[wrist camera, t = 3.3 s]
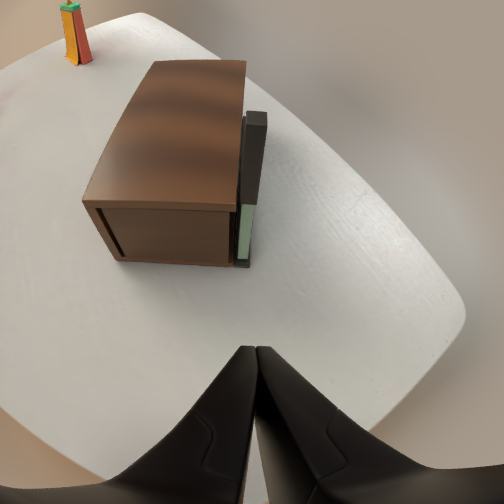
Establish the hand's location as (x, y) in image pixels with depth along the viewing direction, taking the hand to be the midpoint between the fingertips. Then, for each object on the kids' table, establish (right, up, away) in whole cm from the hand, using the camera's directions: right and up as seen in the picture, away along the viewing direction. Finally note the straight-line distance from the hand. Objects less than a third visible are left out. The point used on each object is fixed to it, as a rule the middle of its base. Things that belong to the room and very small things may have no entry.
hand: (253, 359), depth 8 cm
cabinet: (-6, +11, +21) cm, 24 cm away
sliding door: (-1, +7, +19) cm, 20 cm away
